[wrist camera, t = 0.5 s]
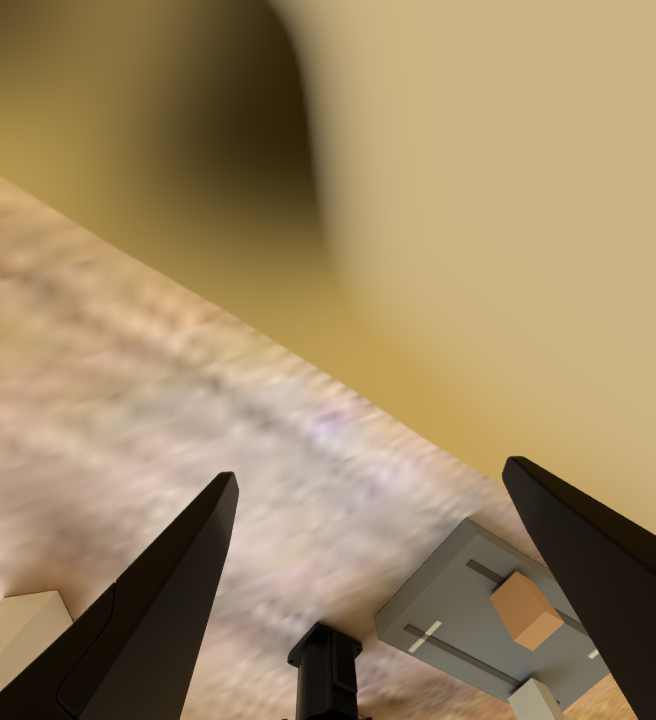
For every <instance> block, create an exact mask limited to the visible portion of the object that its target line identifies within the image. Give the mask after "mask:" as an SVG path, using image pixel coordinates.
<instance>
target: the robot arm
mask: <svg viewBox="0 0 656 720" xmlns="http://www.w3.org/2000/svg"><path fill="white" fill-rule="evenodd" d="M502 479H503V482H504V484H505V486H506V488H507V491H508V493H509V495H510V497H511V499H512V501H513V503H514V505H515V507H516V509H517V512H518V514H519V516H520V518H521V520H522V522H523V524H524V526H525V528H526V530H527V532H528V533H529V535H530V537H531V539H532V540H533V542H534V544H535V545H536V547H537V549H538V551H539V552H540V554H541V556H542V557H543V559H544V561H545V562H546V564H547V566H548V567H549V569H550V571H551V573H552V574H553V576H554V578H555V579H556V581H557V583H558V584H559V586H560V588H561V589H562V591H563V593H564V594H565V596H566V598H567V600H568V601H569V603H570V605H571V606H572V608H573V610H574V611H575V613H576V615H577V616H578V618H579V620H580V622H581V623H582V625H583V627H584V628H585V630H586V632H587V633H588V635H589V637H590V638H591V640H592V642H593V644H594V645H595V647H596V649H597V650H598V652H599V654H600V655H601V657H602V659H603V660H604V662H605V664H606V666H607V667H608V669H609V671H610V672H611V674H612V676H613V677H614V679H615V681H616V682H617V684H618V686H619V688H620V689H621V691H622V693H623V694H624V696H625V698H626V699H627V701H628V703H629V704H630V706H631V708H632V710H633V711H634V713H635V715H636V716H637V718H638V720H656V535H654V534H653V533H651V532H649V531H648V530H646V529H644V528H642V527H641V526H639V525H637V524H636V523H634V522H632V521H631V520H629V519H627V518H626V517H624V516H622V515H621V514H619V513H617V512H615V511H614V510H612V509H610V508H609V507H607V506H606V505H604V504H602V503H601V502H599V501H597V500H596V499H594V498H592V497H591V496H589V495H587V494H585V493H584V492H582V491H580V490H579V489H577V488H575V487H574V486H572V485H570V484H569V483H567V482H565V481H563V480H562V479H560V478H558V477H557V476H555V475H554V474H552V473H550V472H548V471H547V470H545V469H544V468H542V467H540V466H538V465H537V464H535V463H533V462H532V461H530V460H528V459H527V458H525V457H523V456H511V457H509V458H507V461H506V464H505V467H504V470H503V472H502ZM238 497H239V488H238V484H237V481H236V477H235V474H234V472H231V471H230V472H221V473H219V474H218V475H217V476H216V477H215V478H214V479H213V480H212V481H211V482H210V483H209V484H208V485H207V486H206V487H205V489H204V490H203V491H202V492H201V493H200V494H199V495H198V496H197V497H196V498H195V499H194V500H193V501H192V502H191V503H190V504H189V505H188V506H187V507H186V508H185V509H184V510H183V511H182V512H181V513H180V514H179V515H178V516H177V517H176V518H175V519H174V521H173V522H172V523H171V524H170V525H169V526H168V527H167V528H166V529H165V530H164V531H163V532H162V533H161V534H160V535H159V536H158V537H157V538H156V539H155V540H154V541H153V542H152V543H151V544H150V545H149V546H148V547H147V548H146V549H145V550H144V551H143V553H142V554H141V555H140V556H139V557H138V558H137V559H136V560H135V561H134V562H133V563H132V564H131V565H130V566H129V567H128V568H127V569H126V570H125V571H124V572H123V573H122V574H121V575H120V576H119V577H118V578H117V580H116V583H115V582H114V583H112V584H111V585H110V586H109V587H108V589H107V590H106V591H105V592H104V593H103V594H102V595H101V596H100V597H99V598H98V599H97V600H96V601H95V602H94V603H93V604H92V605H91V606H90V607H89V608H88V609H87V610H86V611H85V612H84V613H83V614H82V615H81V616H80V617H79V618H78V619H77V620H76V621H75V622H74V623H73V624H72V625H71V626H70V627H69V628H68V629H67V630H65V631H64V632H63V633H62V634H61V635H60V636H59V637H58V638H57V639H56V640H55V641H54V642H53V643H52V644H51V645H50V646H49V647H48V648H47V649H45V650H44V651H43V652H42V653H41V654H40V655H39V656H38V657H37V658H36V659H35V660H34V661H33V662H31V663H30V664H29V665H28V666H27V667H26V668H25V669H24V670H23V671H22V672H21V673H20V674H18V675H17V676H16V677H15V678H14V679H13V680H12V681H11V682H10V683H9V684H8V685H7V686H6V687H4V688H3V689H2V690H1V691H0V720H180V716H181V713H182V709H183V706H184V702H185V699H186V695H187V692H188V688H189V685H190V681H191V678H192V675H193V671H194V668H195V664H196V661H197V657H198V654H199V650H200V647H201V643H202V640H203V636H204V633H205V629H206V626H207V622H208V619H209V615H210V612H211V608H212V605H213V602H214V598H215V595H216V591H217V588H218V584H219V581H220V577H221V574H222V570H223V567H224V563H225V560H226V556H227V553H228V549H229V545H230V540H231V535H232V529H233V524H234V518H235V513H236V507H237V502H238ZM362 651H363V648H362V644H361V643H360V642H358V641H356V640H354V639H352V638H350V637H348V636H345V635H343V634H341V633H339V632H337V631H335V630H333V629H331V628H329V627H327V626H325V625H323V624H321V623H317V624H315V625H314V627H313V628H312V629H311V630H310V631H309V632H308V633H307V635H306V636H305V637H304V638H303V639H302V640H301V641H300V643H299V644H298V645H297V646H296V647H295V648H294V649H293V651H292V652H291V653H290V654H289V655H288V660H287V662H288V664H290V665H292V666H295V667H297V668H298V686H297V703H296V720H372V717H366V719H359V717H358V706H357V695H356V694H357V692H358V690H357V679H356V669H355V658H356V657H357V656H358V655H359V654H360V653H361V652H362ZM282 720H288V719H282Z"/></svg>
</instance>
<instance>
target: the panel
mask: <svg viewBox="0 0 656 720" xmlns="http://www.w3.org/2000/svg"><path fill="white" fill-rule="evenodd" d="M516 571H517V572H519V573H520V574H522V575H524V576H525V577H527V578H529V579H530V580H532V581H533V582H534V583H535V584H536V586H537V587H538V588H539V590H540V591H541V592H542V593H543V595H544V596H545V597H546V599H547V600H548V601H549V603H550V604H551V605H552V607H553V608H554V609H555V611H556V612H557V613H558V615H559V616H560V617H561V618H562V620H563V621H564V622H565V623H563V624H562V625H561V626H560V627H559V628H558V629H557V630H556V631H555V632H553V633H552V634H551V635H550V636H549V637H548V638H547V639H546V640H545V641H544V642H542V643H541V644H540V645H539V646H538V647H537V648H536V649H535V650H534V651H532V650H530V649H528V648H526V647H524V646H523V645H521V644H519V643H517V642H515V641H514V640H513V639H512V637H511V635H510V633H509V632H508V630H507V628H506V626H505V625H504V623H503V621H502V619H501V617H500V616H499V614H498V612H497V610H496V609H495V607H494V605H493V603H492V602H491V600H490V598H489V597H490V596H491V595H492V594H493V593H494V592H495V591H496V590H497V589H498V588H499V587H501V586H502V585H503V584H504V583H505V582H506V581H507V580H508V579H509V578H510V577H511V576H512V575H513V574H514V573H515V572H516ZM374 618H375V624H376V630H377V636H378V639H379V640H381V641H383V642H385V643H387V644H389V645H391V646H393V647H395V648H397V649H399V650H401V651H403V652H405V653H407V654H409V655H411V656H413V657H415V658H417V659H419V660H421V661H423V662H425V663H427V664H429V665H431V666H433V667H435V668H437V669H440V670H442V671H444V672H446V673H448V674H450V675H452V676H454V677H456V678H458V679H460V680H462V681H464V682H466V683H468V684H470V685H472V686H474V687H476V688H478V689H480V690H482V691H484V692H486V693H488V694H490V695H492V696H494V697H496V698H498V699H500V700H502V701H504V702H506V703H508V704H510V703H509V701H508V698H509V697H510V696H511V695H513V694H514V693H515V692H516V691H517V690H518V689H519V688H521V687H522V686H523V685H524V684H525V683H526V682H527V681H529V680H530V679H531V678H533V679H535V680H537V681H539V682H541V683H543V684H545V685H547V687H548V689H549V690H550V692H551V694H552V695H553V697H554V699H555V701H556V702H557V704H558V706H559V707H560V709H561V711H562V712H563V711H564V710H565V709H567V708H568V707H569V706H570V705H571V704H573V703H574V702H575V701H576V700H577V699H579V698H580V697H581V696H582V695H583V694H585V693H586V692H587V691H588V690H590V689H591V688H592V687H593V686H594V685H596V684H597V683H598V682H599V681H600V680H602V679H603V678H604V677H605V676H606V675H608V674H609V673H610V671H609V669H608V667H607V666H606V664H605V662H604V660H603V659H602V657H601V655H600V654H599V652H598V650H597V649H596V647H595V645H594V644H593V642H592V640H591V638H590V637H589V635H588V633H587V632H586V630H585V628H584V627H583V625H582V623H581V622H580V620H579V618H578V616H577V615H576V613H575V611H574V610H573V608H572V606H571V605H570V603H569V601H568V600H567V598H566V596H565V594H564V593H563V591H562V589H561V588H560V586H559V584H558V583H557V581H556V579H555V578H554V576H553V574H552V573H551V571H550V569H548V568H547V567H545V566H543V565H542V564H540V563H539V562H537V561H535V560H534V559H532V558H531V557H529V556H527V555H526V554H524V553H523V552H521V551H519V550H518V549H516V548H514V547H513V546H511V545H510V544H508V543H506V542H505V541H503V540H502V539H500V538H498V537H497V536H495V535H494V534H492V533H490V532H489V531H487V530H485V529H484V528H482V527H481V526H479V525H477V524H476V523H474V522H473V521H471V520H469V519H468V518H465V519H464V521H463V522H462V523H461V524H460V525H459V526H458V527H457V528H456V529H455V530H454V531H453V532H452V534H451V535H450V536H449V537H448V538H447V539H446V540H445V541H444V542H443V543H442V544H441V545H440V547H439V548H438V549H437V550H436V551H435V552H434V553H433V554H432V555H431V556H430V557H429V558H428V560H427V561H426V562H425V563H424V564H423V565H422V566H421V567H420V568H419V569H418V570H417V571H416V573H415V574H414V575H413V576H412V577H411V578H410V579H409V580H408V581H407V582H406V583H405V584H404V586H403V587H402V588H401V589H400V590H399V591H398V592H397V593H396V594H395V595H394V596H393V597H392V599H391V600H390V601H389V602H388V603H387V604H386V605H385V606H384V607H383V608H382V609H381V610H380V612H379V613H378V614H377V615H376V616H375V617H374Z"/></svg>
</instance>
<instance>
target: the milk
mask: <svg viewBox="0 0 656 720" xmlns="http://www.w3.org/2000/svg"><path fill="white" fill-rule="evenodd" d="M72 624H73V621H72V619H71V617H70V615H69V613H68V611H67V609H66V607H65V605H64V603H63V601H62V598H61V596H60V594H59V592H58V590H54V591H47V592H40V593H34V594H27V595H20V596H14V597H7V598H3V599H1V600H0V691H1V690H2V689H3V688H4V687H6V686H7V685H8V684H9V683H10V682H11V681H12V680H13V679H14V678H15V677H16V676H17V675H18V674H20V673H21V672H22V671H23V670H24V669H25V668H26V667H27V666H28V665H29V664H30V663H31V662H33V661H34V660H35V659H36V658H37V657H38V656H39V655H40V654H41V653H42V652H43V651H44V650H45V649H47V648H48V647H49V646H50V645H51V644H52V643H53V642H54V641H55V640H56V639H57V638H58V637H59V636H60V635H61V634H62V633H63V632H64V631H65V630H67V629H68V628H69V627H70V626H71V625H72Z"/></svg>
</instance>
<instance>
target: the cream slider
mask: <svg viewBox="0 0 656 720" xmlns="http://www.w3.org/2000/svg"><path fill="white" fill-rule="evenodd" d="M508 701H509V703H510V706H511V708H512V710H513V712H514V714H515V716H516V718H517V720H567V719H566V717H565V716H564V714H563V712H562V711H561V709H560V707H559V706H558V704H557V702H556V701H555V699H554V697H553V695H552V694H551V692H550V690H549V689H548V687H547V685H545V684H543V683H541V682H539V681H537V680H535V679H533V678H531V679H530V680H529V681H527V682H526V683H525V684H524V685H523V686H522V687H521V688H519V689H518V690H517V691H516V692H515V693H514V694H513V695H511V696H510V697H509V698H508Z"/></svg>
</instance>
